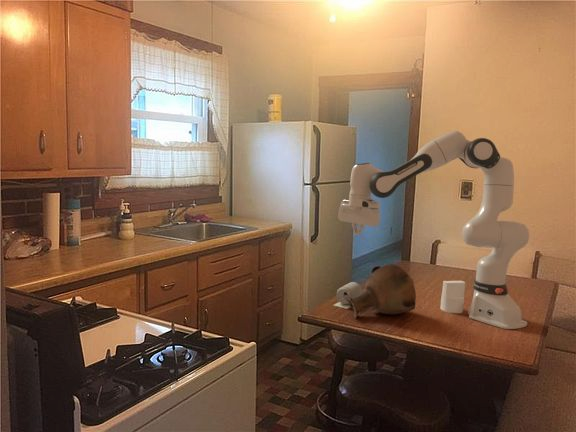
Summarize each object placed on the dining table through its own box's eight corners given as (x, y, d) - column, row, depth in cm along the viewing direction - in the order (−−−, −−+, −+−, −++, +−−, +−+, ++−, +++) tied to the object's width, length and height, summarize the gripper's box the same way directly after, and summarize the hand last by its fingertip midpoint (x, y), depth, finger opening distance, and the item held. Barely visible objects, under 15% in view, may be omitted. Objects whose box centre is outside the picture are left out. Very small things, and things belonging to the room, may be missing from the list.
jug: (405, 305, 212) (341, 321, 203) (396, 259, 212) (332, 273, 203) (432, 311, 193) (363, 329, 184) (423, 260, 193) (353, 276, 184)
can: (365, 296, 214) (354, 302, 204) (350, 300, 218) (338, 307, 207) (359, 279, 215) (347, 285, 204) (344, 284, 218) (332, 290, 208)
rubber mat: (345, 299, 216) (345, 298, 216) (359, 302, 213) (359, 301, 213) (333, 306, 206) (333, 305, 206) (347, 309, 203) (347, 308, 203)
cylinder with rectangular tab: (448, 313, 204) (451, 285, 202) (436, 306, 212) (438, 279, 211) (467, 312, 206) (470, 284, 205) (454, 306, 215) (457, 278, 213)
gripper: (336, 199, 215) (334, 231, 217) (373, 204, 200) (371, 238, 202) (346, 199, 220) (343, 230, 221) (383, 204, 204) (380, 237, 206)
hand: (357, 234), depth 211 cm, fingers closed
